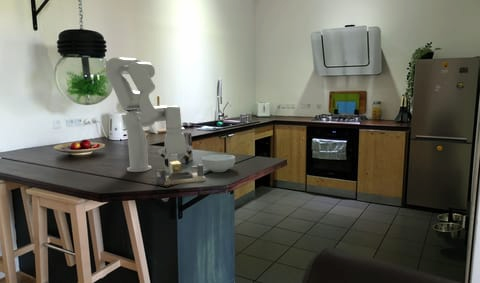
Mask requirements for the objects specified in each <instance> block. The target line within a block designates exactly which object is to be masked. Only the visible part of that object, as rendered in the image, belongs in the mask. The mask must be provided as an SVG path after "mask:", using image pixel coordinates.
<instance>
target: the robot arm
mask: <svg viewBox="0 0 480 283" xmlns="http://www.w3.org/2000/svg"><path fill="white" fill-rule="evenodd" d="M155 70H156V69H155V66H153V64H152V63H151V62H148V61H144V60H141V59H138V58H133V57H121V56H120V57H119V56H118V57H115V56H114V57H111V58H109V59H108V61H106V64H105V74H106V77H107V79H108V81H109V83H110V84H111V86H112V88H113V90H114V93H115V95H116V98H117V101H118V102H119V105H120V106H121V108H122V109H123V110H128V112H126V114H125V115H124V118H123V120H124V125H125V129H126V133H127V144H128V158H129V167H126V170H127V172H131V173H142V172H147V171H150V170H152V165H149V155H148V140H147V134H146V132H145V130H144V128H148V127H152V126H153V125H154V124H155V123H156V122H157V123H158V122H165V128H166V129H165V131H166V134H164V146H163V147H161V148H160V149H158V150H157V152H158V154H159V156H160V157H162V158H163V159H164V166H166V167H167V168H170V164H169V158H168V157H169V156H172V155H177V154H182V153H184V154H185V163H184V164H185V165H188V163H190V161H189V158H188V156H189V155H190V154H191V152H192V153H193V150H194V147H193V145H192V146H189V145H187V144H186V143H185V137H184V134H183V133H184V132H183V131H186V130H185V127H183V126H182V116H181V115H182V114H181V108H180V106H178V105H157V106H154V105H153V103H152V102H151V99H150V94H152V93H153V92H154V91H155V89H156V85H155V83H154V81H153V80H152V78H154V77H155V74H156V73H155V72H156V71H155ZM124 75H129V76H130V78H131V80H132V82H133V83H134V85H135V87H136V89H137V90H133V88H132V86H131V84H130V82H129V80H127V78H125V76H124ZM186 147H188V148H189V151H188V152H186ZM163 152H164V153H165V154H163Z"/></svg>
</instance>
